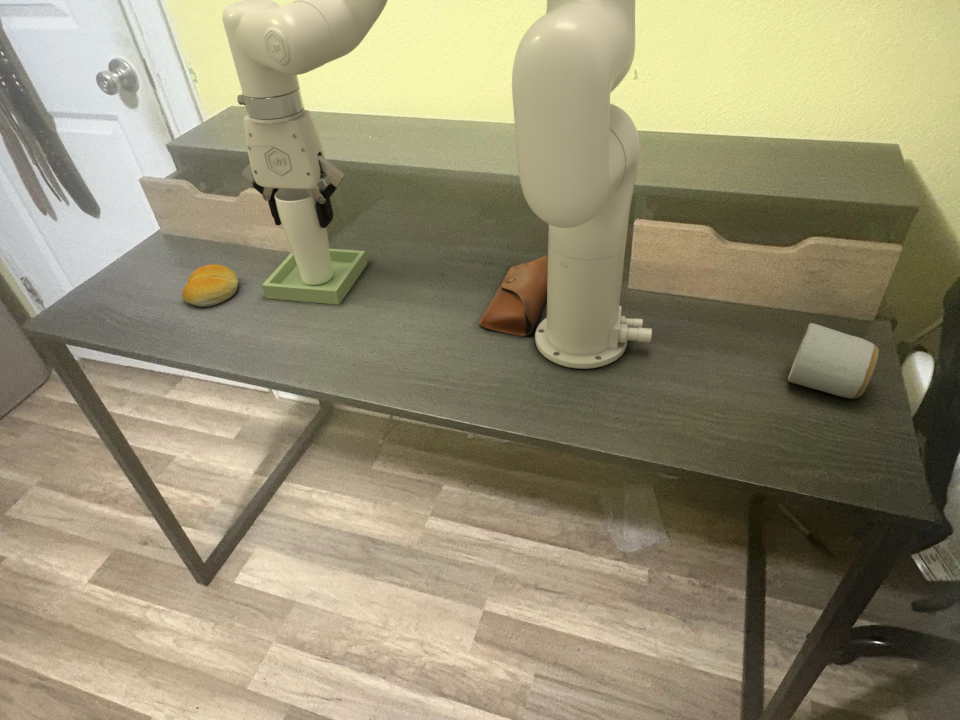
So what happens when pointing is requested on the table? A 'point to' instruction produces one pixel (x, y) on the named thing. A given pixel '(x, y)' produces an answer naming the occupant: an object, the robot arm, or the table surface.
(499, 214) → the table surface
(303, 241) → the drinking glass
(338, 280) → the tray
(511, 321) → the sunglasses case
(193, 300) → the bread roll
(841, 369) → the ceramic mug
